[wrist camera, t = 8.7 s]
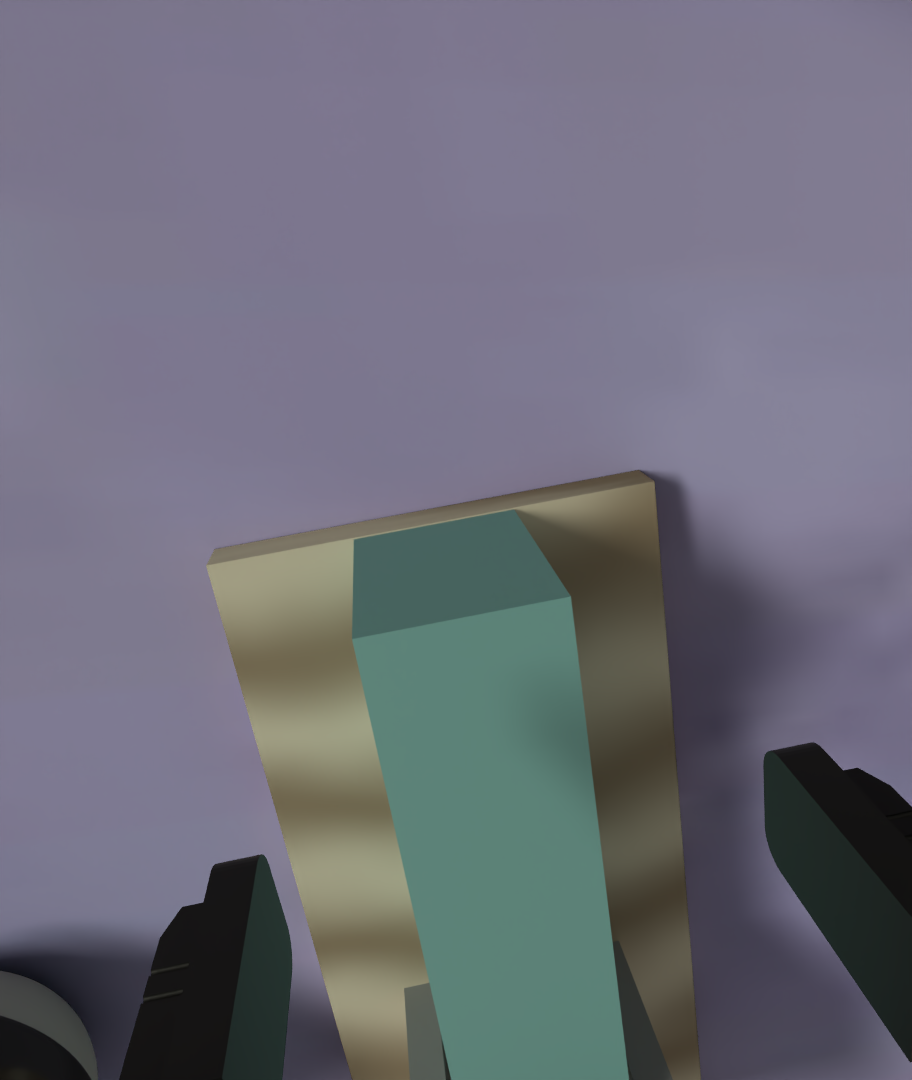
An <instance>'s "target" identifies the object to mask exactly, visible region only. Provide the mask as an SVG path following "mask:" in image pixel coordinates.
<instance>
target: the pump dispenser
mask: <svg viewBox="0 0 912 1080" xmlns="http://www.w3.org/2000/svg"><path fill="white" fill-rule="evenodd" d="M0 1080H98V1072H97V1063H96V1058H95V1053H94V1049H93V1045H92V1043H91V1040H90V1037H89V1035H88V1032H87V1030H86V1028H85V1026H84V1025H83V1023H82V1021H81V1020H80V1018H79V1017H78V1015H77V1014H76V1013H75V1011H74V1010H73V1009H72V1008H71V1007H70V1006H69V1004H68V1003H67V1002H65V1001H64V1000H63V999H62V998H61V997H60V996H59V995H57V994H56V993H55V992H53V991H52V990H50V989H49V988H47V987H46V986H44V985H42V984H40V983H38V982H36V981H34V980H32V979H29V978H27V977H24V976H21V975H17V974H14V973H10V972H4V971H0Z"/></svg>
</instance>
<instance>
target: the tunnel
mask: <svg viewBox="0 0 912 1080" xmlns="http://www.w3.org/2000/svg"><path fill="white" fill-rule="evenodd" d="M613 951H614V959H615V967H616V976H617V984H618V992H619V1001H620V1009H621V1017H622V1025H623V1034H624V1042H625V1050H626V1059H627V1067H628V1075H629V1080H673V1079H672V1076H671V1074H670V1071H669V1068H668V1066H667V1063H666V1061H665V1058H664V1056H663V1053H662V1050H661V1048H660V1045H659V1043H658V1040H657V1038H656V1035H655V1032H654V1030H653V1027H652V1025H651V1022H650V1020H649V1017H648V1014H647V1012H646V1009H645V1007H644V1004H643V1002H642V999H641V996H640V994H639V991H638V989H637V986H636V984H635V981H634V978H633V976H632V973H631V971H630V968H629V966H628V963H627V960H626V958H625V955H624V953H623V950H622V948H621V945H620V942H619V941H615V942H613ZM404 996H405V1011H406V1027H407V1043H408V1059H409V1074H410V1080H451V1076H450V1072H449V1067H448V1063H447V1058H446V1054H445V1050H444V1045H443V1041H442V1036H441V1032H440V1027H439V1023H438V1019H437V1014H436V1010H435V1005H434V1001H433V996H432V992H431V987H430V983H426V984H421V985H417V986H412V987H408V988H404Z"/></svg>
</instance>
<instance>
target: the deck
mask: <svg viewBox="0 0 912 1080" xmlns="http://www.w3.org/2000/svg"><path fill="white" fill-rule="evenodd" d="M513 509H514V510H515V512H516V513H517V515H518V516H519V518H520V519H521V521H522V522H523V524H524V525H525V527H526V529H527V530H528V532H529V533H530V535H531V536H532V538H533V539H534V541H535V542H536V544H537V545H538V547H539V548H540V550H541V552H542V553H543V555H544V556H545V558H546V559H547V561H548V562H549V564H550V565H551V567H552V568H553V570H554V571H555V573H556V574H557V576H558V578H559V579H560V581H561V582H562V584H563V585H564V587H565V588H566V590H567V591H568V593H569V594H570V596H571V602H572V610H573V618H574V627H575V635H576V643H577V652H578V660H579V668H580V677H581V685H582V693H583V702H584V710H585V718H586V726H587V735H588V743H589V751H590V760H591V768H592V776H593V785H594V793H595V801H596V810H597V818H598V826H599V834H600V843H601V851H602V859H603V868H604V876H605V884H606V893H607V901H608V909H609V918H610V926H611V934H612V942H615V941H619V942H620V945H621V948H622V950H623V953H624V955H625V958H626V960H627V963H628V966H629V968H630V971H631V973H632V976H633V978H634V981H635V984H636V986H637V989H638V991H639V994H640V996H641V999H642V1002H643V1004H644V1007H645V1009H646V1012H647V1014H648V1017H649V1020H650V1022H651V1025H652V1027H653V1030H654V1032H655V1035H656V1038H657V1040H658V1043H659V1045H660V1048H661V1050H662V1053H663V1056H664V1058H665V1061H666V1063H667V1066H668V1068H669V1071H670V1074H671V1076H672V1079H673V1080H701V1074H700V1061H699V1048H698V1035H697V1022H696V1009H695V997H694V984H693V971H692V958H691V945H690V932H689V919H688V907H687V894H686V881H685V868H684V855H683V842H682V829H681V817H680V804H679V791H678V778H677V765H676V752H675V740H674V727H673V714H672V701H671V688H670V675H669V662H668V650H667V637H666V624H665V611H664V598H663V585H662V573H661V560H660V547H659V534H658V521H657V508H656V495H655V483H654V481H653V480H652V479H650V478H649V477H648V476H646V475H645V474H643V473H642V472H641V471H639V470H636V471H631V472H625V473H620V474H615V475H609V476H604V477H599V478H593V479H588V480H582V481H577V482H572V483H566V484H561V485H556V486H550V487H545V488H540V489H534V490H529V491H524V492H518V493H513V494H508V495H502V496H497V497H492V498H486V499H481V500H476V501H470V502H465V503H460V504H454V505H449V506H443V507H438V508H433V509H427V510H422V511H417V512H411V513H406V514H401V515H395V516H390V517H385V518H379V519H374V520H369V521H363V522H358V523H353V524H347V525H342V526H337V527H331V528H326V529H321V530H315V531H310V532H304V533H299V534H294V535H288V536H283V537H278V538H272V539H267V540H262V541H256V542H251V543H246V544H240V545H235V546H230V547H224V548H219V549H215V550H214V552H213V554H212V555H211V557H210V559H209V561H208V563H207V565H206V566H207V570H208V573H209V577H210V581H211V584H212V588H213V591H214V595H215V598H216V602H217V605H218V609H219V612H220V616H221V619H222V623H223V626H224V630H225V633H226V637H227V640H228V644H229V647H230V651H231V654H232V658H233V661H234V665H235V669H236V672H237V676H238V679H239V683H240V686H241V690H242V693H243V697H244V700H245V704H246V707H247V711H248V714H249V718H250V721H251V725H252V728H253V732H254V735H255V739H256V742H257V746H258V750H259V753H260V757H261V760H262V764H263V767H264V771H265V774H266V778H267V781H268V785H269V788H270V792H271V795H272V799H273V802H274V806H275V809H276V813H277V816H278V820H279V823H280V827H281V831H282V834H283V838H284V841H285V845H286V848H287V852H288V855H289V859H290V862H291V866H292V869H293V873H294V876H295V880H296V883H297V887H298V890H299V894H300V897H301V901H302V904H303V908H304V911H305V915H306V919H307V922H308V926H309V929H310V933H311V936H312V940H313V943H314V947H315V950H316V954H317V957H318V961H319V964H320V968H321V971H322V975H323V978H324V982H325V985H326V989H327V992H328V996H329V1000H330V1003H331V1007H332V1010H333V1014H334V1017H335V1021H336V1024H337V1028H338V1031H339V1035H340V1038H341V1042H342V1045H343V1049H344V1052H345V1056H346V1059H347V1063H348V1066H349V1070H350V1073H351V1077H352V1080H410V1074H409V1059H408V1043H407V1027H406V1011H405V996H404V988H408V987H412V986H417V985H421V984H426V983H429V979H428V974H427V970H426V965H425V961H424V956H423V952H422V948H421V943H420V939H419V934H418V930H417V925H416V921H415V917H414V912H413V908H412V903H411V899H410V894H409V890H408V885H407V881H406V877H405V872H404V868H403V863H402V859H401V854H400V850H399V846H398V841H397V837H396V832H395V828H394V823H393V819H392V815H391V810H390V806H389V801H388V797H387V792H386V788H385V783H384V779H383V775H382V770H381V766H380V761H379V757H378V752H377V748H376V744H375V739H374V735H373V730H372V726H371V721H370V717H369V712H368V708H367V704H366V699H365V695H364V690H363V686H362V681H361V677H360V673H359V668H358V664H357V659H356V655H355V650H354V646H353V642H352V610H353V553H354V539H359V538H364V537H370V536H375V535H380V534H386V533H391V532H396V531H402V530H407V529H412V528H417V527H423V526H428V525H433V524H439V523H444V522H449V521H455V520H460V519H465V518H471V517H476V516H481V515H487V514H492V513H497V512H503V511H508V510H513Z"/></svg>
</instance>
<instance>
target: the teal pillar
mask: <svg viewBox="0 0 912 1080" xmlns="http://www.w3.org/2000/svg"><path fill="white" fill-rule="evenodd" d="M352 642H353V646H354V650H355V655H356V659H357V664H358V668H359V673H360V677H361V681H362V686H363V690H364V695H365V699H366V704H367V708H368V712H369V717H370V721H371V726H372V730H373V735H374V739H375V744H376V748H377V752H378V757H379V761H380V766H381V770H382V775H383V779H384V783H385V788H386V792H387V797H388V801H389V806H390V810H391V815H392V819H393V823H394V828H395V832H396V837H397V841H398V846H399V850H400V854H401V859H402V863H403V868H404V872H405V877H406V881H407V885H408V890H409V894H410V899H411V903H412V908H413V912H414V917H415V921H416V925H417V930H418V934H419V939H420V943H421V948H422V952H423V956H424V961H425V965H426V970H427V974H428V979H429V983H430V987H431V992H432V996H433V1001H434V1005H435V1010H436V1014H437V1019H438V1023H439V1027H440V1032H441V1036H442V1041H443V1045H444V1050H445V1054H446V1058H447V1063H448V1067H449V1072H450V1076H451V1080H629V1075H628V1067H627V1059H626V1050H625V1042H624V1034H623V1025H622V1017H621V1009H620V1001H619V992H618V984H617V976H616V967H615V959H614V951H613V942H612V934H611V926H610V918H609V909H608V901H607V893H606V884H605V876H604V868H603V859H602V851H601V843H600V834H599V826H598V818H597V810H596V801H595V793H594V785H593V776H592V768H591V760H590V751H589V743H588V735H587V726H586V718H585V710H584V702H583V693H582V685H581V677H580V668H579V660H578V652H577V643H576V635H575V627H574V618H573V610H572V602H571V596H570V594H569V593H568V591H567V590H566V588H565V587H564V585H563V584H562V582H561V581H560V579H559V578H558V576H557V574H556V573H555V571H554V570H553V568H552V567H551V565H550V564H549V562H548V561H547V559H546V558H545V556H544V555H543V553H542V552H541V550H540V548H539V547H538V545H537V544H536V542H535V541H534V539H533V538H532V536H531V535H530V533H529V532H528V530H527V529H526V527H525V525H524V524H523V522H522V521H521V519H520V518H519V516H518V515H517V513H516V512H515V510H514V509H513V510H508V511H503V512H497V513H492V514H487V515H481V516H476V517H471V518H465V519H460V520H455V521H449V522H444V523H439V524H433V525H428V526H423V527H417V528H412V529H407V530H402V531H396V532H391V533H386V534H380V535H375V536H370V537H364V538H359V539H354V553H353V610H352Z"/></svg>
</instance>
